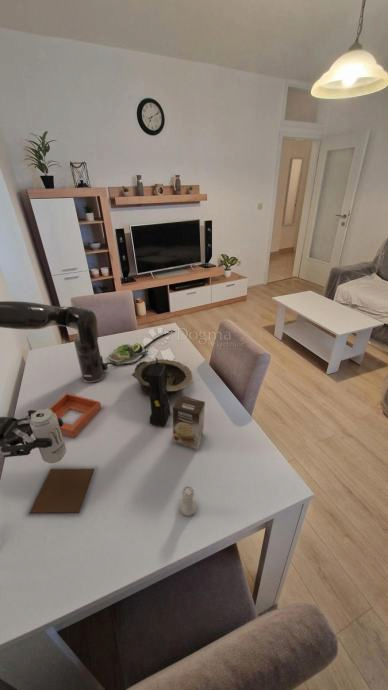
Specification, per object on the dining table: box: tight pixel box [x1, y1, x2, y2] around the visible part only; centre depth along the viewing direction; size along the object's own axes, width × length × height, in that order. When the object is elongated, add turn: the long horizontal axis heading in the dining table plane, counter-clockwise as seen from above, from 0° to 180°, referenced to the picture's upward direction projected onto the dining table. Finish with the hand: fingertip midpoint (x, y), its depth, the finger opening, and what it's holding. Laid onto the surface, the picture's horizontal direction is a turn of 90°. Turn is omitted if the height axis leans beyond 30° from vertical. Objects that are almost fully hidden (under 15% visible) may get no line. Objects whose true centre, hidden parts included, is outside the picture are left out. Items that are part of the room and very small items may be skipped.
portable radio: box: [146, 357, 171, 427], centre depth 96 cm, size 8×6×25 cm
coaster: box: [28, 468, 95, 514], centre depth 78 cm, size 13×13×1 cm
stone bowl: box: [131, 358, 194, 399], centre depth 118 cm, size 25×25×9 cm
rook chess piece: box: [179, 485, 197, 517], centre depth 73 cm, size 4×4×8 cm
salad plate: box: [107, 342, 149, 366], centre depth 139 cm, size 19×18×5 cm
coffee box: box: [172, 394, 206, 451], centre depth 91 cm, size 9×6×16 cm
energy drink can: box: [30, 407, 67, 464], centre depth 72 cm, size 6×6×15 cm
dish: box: [48, 392, 102, 439], centre depth 102 cm, size 16×16×3 cm
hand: (56, 432), depth 71 cm, fingers closed on energy drink can, 6 cm apart
